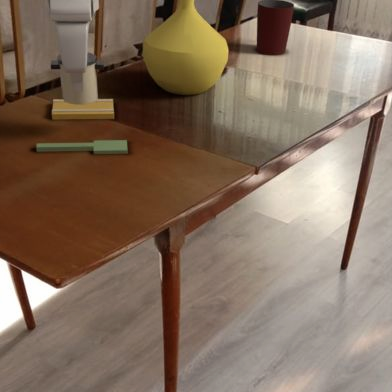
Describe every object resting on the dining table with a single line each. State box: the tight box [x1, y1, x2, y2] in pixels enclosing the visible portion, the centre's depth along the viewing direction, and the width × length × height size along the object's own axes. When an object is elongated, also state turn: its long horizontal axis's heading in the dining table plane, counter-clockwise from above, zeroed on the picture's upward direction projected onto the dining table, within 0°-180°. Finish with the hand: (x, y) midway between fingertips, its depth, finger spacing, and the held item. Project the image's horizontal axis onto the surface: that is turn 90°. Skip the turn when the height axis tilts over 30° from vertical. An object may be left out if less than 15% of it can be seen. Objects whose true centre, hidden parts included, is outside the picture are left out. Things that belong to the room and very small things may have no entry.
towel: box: [51, 98, 115, 120], centre depth 125 cm, size 12×8×1 cm, turn 97°
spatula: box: [35, 139, 129, 155], centre depth 112 cm, size 16×4×1 cm, turn 97°
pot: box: [50, 52, 105, 105], centre depth 112 cm, size 9×7×8 cm
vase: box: [142, 0, 229, 96], centre depth 133 cm, size 18×18×19 cm
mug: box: [256, 0, 295, 56], centre depth 159 cm, size 12×9×11 cm
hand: (79, 83), depth 113 cm, fingers closed on pot, 6 cm apart
